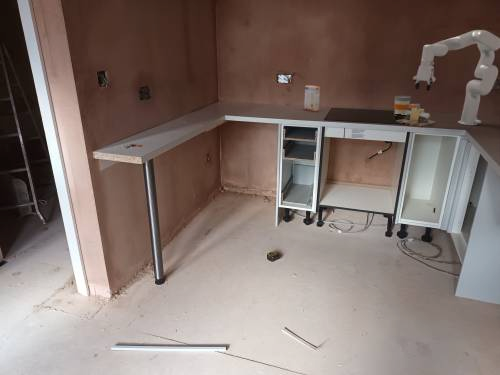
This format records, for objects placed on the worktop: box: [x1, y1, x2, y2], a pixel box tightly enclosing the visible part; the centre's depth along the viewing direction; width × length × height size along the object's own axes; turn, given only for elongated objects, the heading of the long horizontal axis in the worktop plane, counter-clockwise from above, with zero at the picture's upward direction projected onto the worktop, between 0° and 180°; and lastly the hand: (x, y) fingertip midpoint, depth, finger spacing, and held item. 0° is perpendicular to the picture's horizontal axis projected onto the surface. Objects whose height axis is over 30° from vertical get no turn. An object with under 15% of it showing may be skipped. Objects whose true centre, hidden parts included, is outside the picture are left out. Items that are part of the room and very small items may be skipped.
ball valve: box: [405, 107, 431, 122], centre depth 284 cm, size 18×6×9 cm, turn 36°
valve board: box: [395, 115, 436, 128], centre depth 285 cm, size 20×20×4 cm
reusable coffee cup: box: [393, 95, 412, 115], centre depth 312 cm, size 13×13×15 cm
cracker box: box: [303, 84, 321, 112], centre depth 333 cm, size 14×6×21 cm, turn 30°
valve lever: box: [409, 103, 421, 109], centre depth 279 cm, size 11×3×4 cm, turn 126°
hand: (422, 89), depth 267 cm, fingers open, 7 cm apart
